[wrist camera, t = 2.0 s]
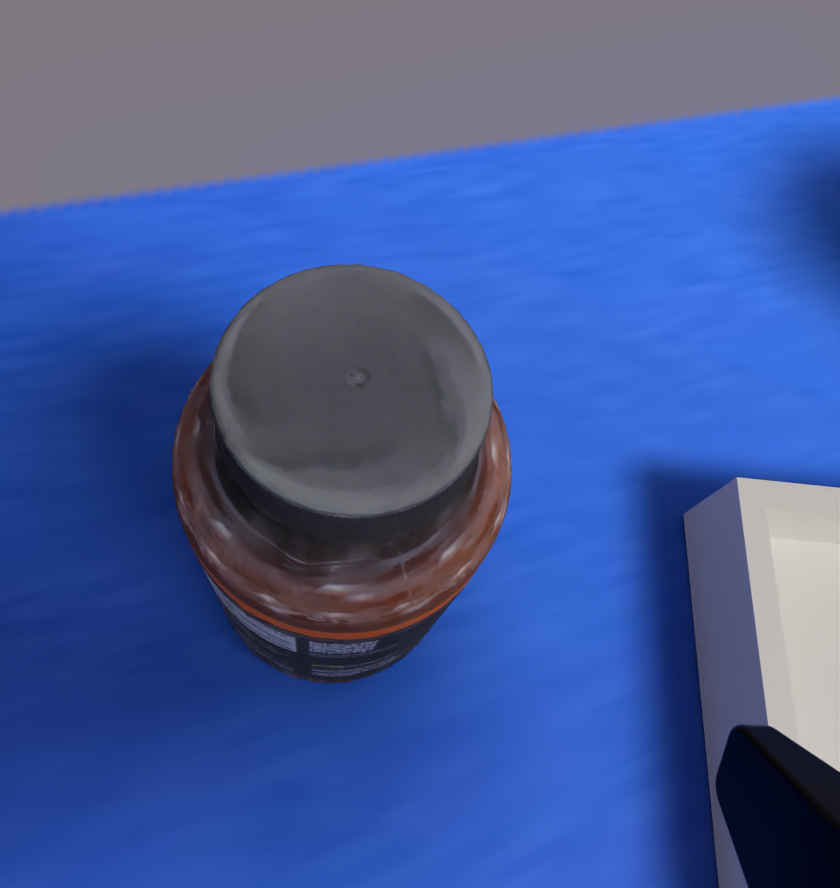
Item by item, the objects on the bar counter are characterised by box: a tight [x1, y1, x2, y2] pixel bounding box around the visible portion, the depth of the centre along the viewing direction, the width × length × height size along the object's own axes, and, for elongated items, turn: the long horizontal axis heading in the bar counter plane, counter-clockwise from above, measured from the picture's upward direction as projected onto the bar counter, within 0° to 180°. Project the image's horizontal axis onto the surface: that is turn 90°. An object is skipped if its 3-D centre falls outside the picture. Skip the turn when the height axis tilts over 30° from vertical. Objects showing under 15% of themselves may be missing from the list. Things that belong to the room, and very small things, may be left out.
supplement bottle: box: [172, 264, 512, 683], centre depth 16 cm, size 6×6×11 cm
